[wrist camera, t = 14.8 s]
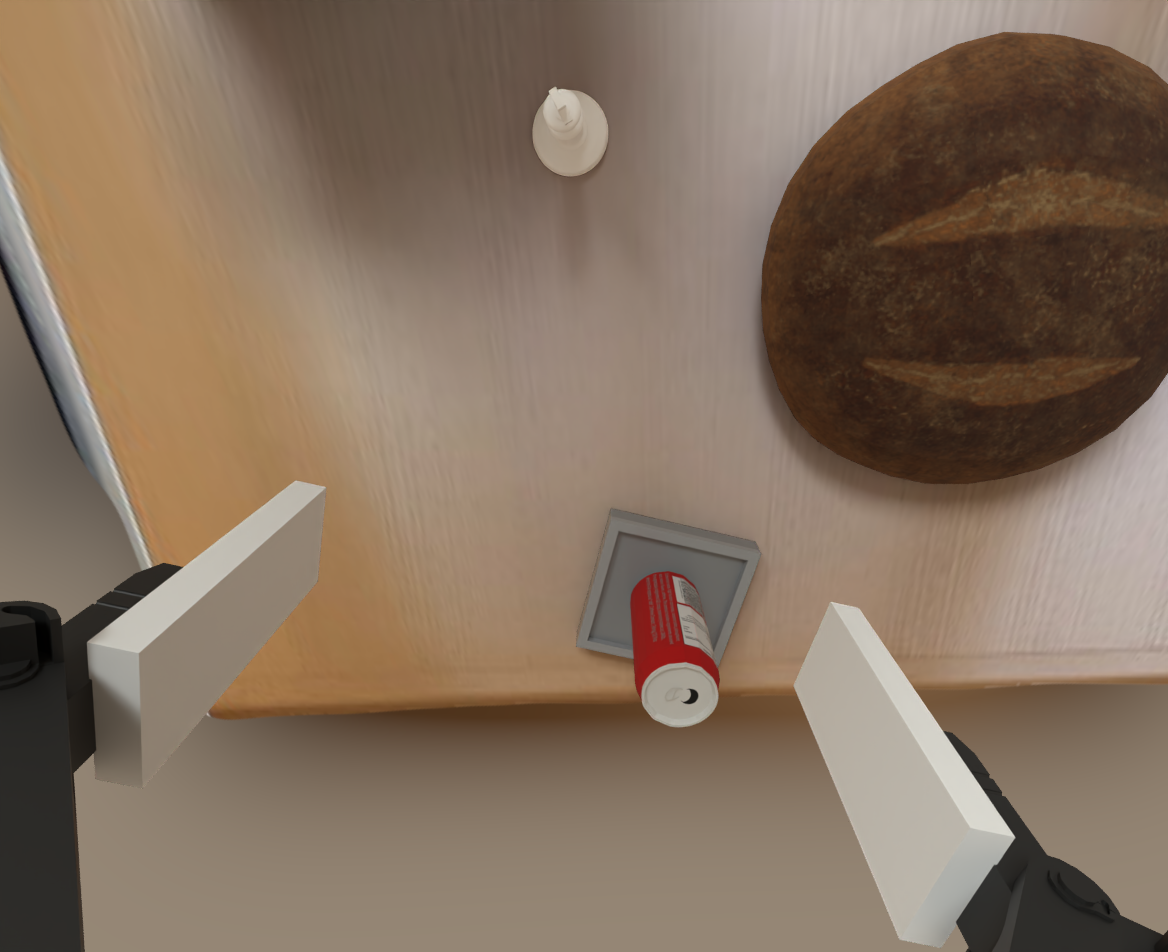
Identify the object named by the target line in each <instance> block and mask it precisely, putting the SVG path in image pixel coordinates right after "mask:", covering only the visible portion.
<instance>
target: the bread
mask: <svg viewBox="0 0 1168 952" xmlns="http://www.w3.org/2000/svg"><path fill="white" fill-rule="evenodd" d="M761 302H762V319H763V332H764V337H765V342H766V347H767V352H768V357H769V361H770V364H771V367H772V370H773V373H774V376H775V379H776V381H777V384H778V387H779V390H780V392H781V394H782V395H783V397H784V399H785V401H786V403H787V404H788V406H789V408H790V410H791V412H792V414H793V415H794V417H795V418H796V419H797V421H798V422H799V423H800V424H801V425H802V426H803V427H804V428H805V429H806V430H807V431H808V433H809V434H810V435H811V436H812V437H813V438H815V439H816V440H817V441H818V442H820V443H821V444H823V445H824V446H826V447H827V448H829V449H830V450H832V451H833V452H835V453H836V454H838V455H840V456H842V457H844V458H847V459H849V460H851V461H854V462H856V463H859V464H861V465H863V466H865V467H868V468H871V469H873V470H876V471H879V472H882V473H884V474H887V475H890V476H893V477H898V478H903V479H907V480H912V481H917V482H921V483H930V484H969V483H975V482H982V481H988V480H995V479H1001V478H1006V477H1010V476H1014V475H1018V474H1021V473H1025V472H1029V471H1033V470H1037V469H1040V468H1043V467H1045V466H1047V465H1050V464H1052V463H1054V462H1057V461H1059V460H1062V459H1064V458H1066V457H1069V456H1071V455H1074V454H1076V453H1078V452H1079V451H1081V450H1083V449H1084V448H1086V447H1088V446H1089V445H1091V444H1093V443H1094V442H1096V441H1098V440H1099V439H1101V438H1103V437H1104V436H1106V435H1108V434H1109V433H1111V432H1113V431H1114V430H1116V429H1117V428H1118V427H1119V426H1120V425H1121V424H1122V423H1123V422H1124V421H1125V420H1126V419H1127V418H1128V417H1129V416H1130V415H1132V414H1133V413H1134V412H1135V411H1136V410H1137V409H1138V408H1139V407H1140V406H1142V405H1143V404H1144V403H1145V402H1146V401H1147V400H1148V399H1149V398H1150V397H1151V396H1152V395H1153V393H1154V392H1155V390H1156V389H1157V388H1158V386H1159V385H1160V383H1161V382H1162V381H1163V379H1164V378H1165V376H1166V375H1167V373H1168V84H1167V83H1166V82H1165V81H1164V80H1163V79H1161V78H1160V77H1159V76H1158V75H1157V74H1156V73H1155V72H1154V71H1153V70H1152V69H1151V68H1150V67H1148V66H1146V65H1144V64H1142V63H1140V62H1138V61H1136V60H1134V59H1132V58H1130V57H1128V56H1126V55H1124V54H1122V53H1120V52H1118V51H1116V50H1115V49H1113V48H1111V47H1108V46H1104V45H1100V44H1095V43H1091V42H1087V41H1083V40H1079V39H1075V38H1071V37H1067V36H1061V35H1054V34H1037V33H1015V32H1002V33H999V34H995V35H991V36H987V37H984V38H980V39H976V40H972V41H968V42H965V43H961V44H957V45H955V46H953V47H951V48H949V49H947V50H945V51H943V52H941V53H939V54H937V55H935V56H933V57H931V58H929V59H927V60H925V61H923V62H921V63H919V64H917V65H915V66H914V67H912V68H911V69H909V70H907V71H906V72H904V73H902V74H901V75H899V76H898V77H896V78H894V79H893V80H891V81H889V82H888V83H886V84H884V85H883V86H881V87H880V88H879V89H877V90H876V91H874V92H873V93H872V94H870V95H869V96H868V97H866V98H865V99H863V100H862V101H861V102H859V103H858V104H857V105H855V106H854V107H852V108H851V109H850V110H848V111H847V112H846V113H845V114H844V115H843V116H842V117H841V118H840V119H839V120H838V121H837V122H836V123H835V124H834V125H833V126H832V127H831V128H830V129H829V130H828V131H827V132H826V133H825V134H824V135H823V136H822V137H821V138H820V139H819V140H818V141H817V143H816V144H815V145H814V146H813V147H812V149H811V150H810V152H809V154H808V155H807V157H806V158H805V160H804V161H803V163H802V164H801V166H800V167H799V169H798V170H797V172H796V173H795V175H794V176H793V178H792V179H791V181H790V182H789V184H788V186H787V189H786V191H785V193H784V196H783V198H782V201H781V203H780V206H779V208H778V210H777V213H776V215H775V218H774V220H773V223H772V225H771V229H770V234H769V238H768V243H767V247H766V252H765V256H764V260H763V268H762V294H761Z"/></svg>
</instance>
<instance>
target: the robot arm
mask: <svg viewBox="0 0 1168 952" xmlns="http://www.w3.org/2000/svg"><path fill="white" fill-rule="evenodd" d="M325 497H326V487H323V486H318V485H314V484H310V483H305V482H301V481H294V482H293V483H292V484H290V485H289V486H288V487H286V488H285V489H284V490H283V491H281V492H280V493H279V494H277V495H276V496H275V497H274V498H272V499H271V500H270V501H268V502H267V503H266V504H265V505H263V506H262V507H261V508H259V509H258V510H257V511H255V512H254V513H253V514H252V515H250V516H249V517H248V518H246V519H245V520H244V521H243V522H241V523H240V524H239V525H237V526H236V527H235V528H234V529H232V530H231V531H230V532H228V533H227V534H226V535H225V536H223V537H222V538H221V539H219V540H218V541H217V542H215V543H214V544H213V545H212V546H210V547H209V548H208V549H206V550H205V551H204V552H203V553H201V554H200V555H199V556H197V557H196V558H195V559H194V560H192V561H191V562H190V563H188V564H187V565H186V566H185V567H180V566H176V565H171V564H166V563H162V564H160V565H157V566H154V567H151V568H149V569H146V570H143V571H141V572H138V573H135V574H134V575H133V576H131V577H130V578H128V579H127V580H126V581H124V582H123V583H121V584H120V585H119V586H117V587H116V588H114V591H113V592H111V591H110V592H109V593H107V594H106V595H104V596H103V597H102V598H100V599H99V600H97V603H96V604H92V605H91V606H89V607H87V608H86V609H85V610H83V611H82V612H80V613H79V614H78V615H76V616H75V617H73V618H72V619H70V620H69V621H68V622H66V623H65V624H63V625H62V626H61V618H60V616H59V614H58V612H57V610H56V609H54V608H52V607H50V606H48V605H46V604H44V603H37V602H30V601H13V602H0V952H85V949H84V935H83V934H84V933H83V917H82V900H81V885H80V868H79V852H78V836H77V819H76V803H75V787H74V774H73V773H74V772H75V771H76V770H77V769H78V768H79V767H80V766H81V765H82V764H83V763H84V762H85V761H86V760H87V759H88V758H89V757H90V756H91V755H92V754H93V753H94V764H95V779H97V780H102V781H107V782H112V783H117V784H122V785H127V786H132V787H137V788H142V789H143V788H144V786H145V785H146V784H147V783H148V782H149V781H150V779H151V778H152V777H153V776H154V775H155V773H156V772H157V771H158V770H159V769H160V768H161V766H162V765H163V764H164V763H165V762H166V760H167V759H168V758H169V757H170V756H171V755H172V753H173V752H174V751H175V750H176V749H177V747H178V746H179V745H180V744H181V743H182V742H183V740H184V739H185V738H186V737H187V736H188V734H189V733H190V732H191V731H192V730H193V728H194V727H195V726H196V725H197V723H198V722H199V721H200V720H201V719H202V718H203V717H204V716H205V714H206V713H207V712H208V711H209V710H210V708H211V707H212V706H213V705H214V704H215V702H216V701H217V700H218V699H219V698H220V697H221V695H222V694H223V693H224V692H225V691H226V689H227V688H228V687H229V686H230V685H231V684H232V682H233V681H234V680H235V679H236V678H237V676H238V675H239V674H240V673H241V672H242V671H243V669H244V668H245V667H246V666H247V665H248V663H249V662H250V661H251V660H252V659H253V658H254V656H255V655H256V654H257V653H258V652H259V650H260V649H261V648H262V647H263V646H264V644H265V643H266V642H267V641H268V640H269V639H270V637H271V636H272V635H273V634H274V633H275V631H276V630H277V629H278V628H279V627H280V626H281V624H282V623H283V622H284V621H285V620H286V618H287V617H288V616H289V615H290V614H291V613H292V611H293V610H294V609H295V608H296V607H297V605H298V604H299V603H300V602H301V601H302V600H303V598H304V597H305V596H306V595H307V594H308V592H309V591H310V590H311V589H312V588H313V586H314V585H315V584H316V583H317V582H318V573H319V562H320V552H321V541H322V530H323V519H324V508H325ZM794 688H795V690H796V693H797V695H798V697H799V700H800V702H801V705H802V707H803V709H804V712H805V714H806V717H807V719H808V722H809V724H810V726H811V729H812V731H813V733H814V736H815V738H816V741H817V743H818V745H819V748H820V750H821V753H822V755H823V757H824V760H825V762H826V765H827V767H828V769H829V772H830V774H831V776H832V779H833V781H834V784H835V786H836V788H837V791H838V793H839V796H840V798H841V800H842V803H843V805H844V808H845V810H846V812H847V815H848V817H849V819H850V822H851V824H852V827H853V829H854V832H855V834H856V836H857V839H858V841H859V843H860V846H861V848H862V851H863V853H864V855H865V858H866V860H867V863H868V865H869V867H870V870H871V872H872V874H873V877H874V879H875V882H876V884H877V887H878V889H879V891H880V894H881V896H882V899H883V901H884V903H885V905H886V908H887V910H888V913H889V915H890V918H891V920H892V923H893V925H894V927H895V930H896V932H897V934H898V937H899V939H900V940H904V941H909V942H914V943H919V944H924V945H929V946H934V947H939V948H941V947H942V946H943V944H944V942H945V941H946V940H947V938H948V937H949V935H950V934H951V932H952V931H953V929H954V928H955V926H956V925H958V927H959V929H960V931H961V933H962V935H963V937H964V939H965V941H966V943H967V945H968V946H969V948H968V949H967V951H966V952H1168V931H1167V932H1166V933H1165V934H1164V935H1162V934H1160V933H1157V932H1155V931H1153V930H1151V929H1149V928H1146V927H1144V926H1142V925H1140V924H1138V923H1136V922H1134V921H1131V920H1129V919H1127V918H1125V917H1123V916H1121V915H1120V913H1119V911H1118V910H1117V908H1116V907H1115V905H1114V904H1113V902H1112V901H1111V899H1110V898H1109V897H1108V895H1107V894H1106V893H1105V892H1103V890H1102V889H1101V888H1100V887H1099V886H1098V885H1097V884H1096V883H1095V882H1094V881H1092V880H1091V879H1090V878H1089V877H1087V876H1086V875H1085V874H1083V873H1082V872H1081V871H1079V870H1078V869H1077V868H1075V867H1073V866H1071V865H1069V864H1067V863H1066V862H1064V861H1062V860H1060V859H1057V858H1054V857H1051V856H1047V854H1046V853H1045V852H1044V850H1043V849H1042V847H1041V846H1040V845H1039V843H1038V842H1037V840H1036V839H1035V837H1034V836H1033V835H1032V833H1031V832H1030V830H1029V829H1028V828H1027V826H1026V825H1025V824H1024V822H1023V821H1022V819H1021V818H1020V816H1019V815H1018V814H1017V812H1016V811H1015V810H1014V808H1013V807H1012V805H1011V804H1010V802H1009V801H1008V800H1007V798H1006V797H1004V796H1002V791H1001V790H1000V789H999V787H998V786H997V785H996V783H995V781H994V780H993V779H990V778H989V775H990V774H989V773H988V772H987V771H986V769H985V767H984V766H983V765H982V763H981V762H980V761H979V759H978V758H977V756H976V755H975V754H974V753H973V752H972V751H971V750H970V749H969V748H968V747H967V746H966V745H965V744H964V743H963V742H961V741H960V740H959V739H958V738H957V737H956V736H955V735H954V734H953V733H950V732H946V731H942V729H941V728H940V726H939V725H938V723H937V722H936V720H935V719H934V718H933V716H932V715H931V713H930V712H929V710H928V709H927V707H926V706H925V704H924V703H923V701H922V700H921V698H920V697H919V696H918V694H917V693H916V691H915V690H914V688H913V687H912V685H911V684H910V682H909V681H908V679H907V678H906V677H905V675H904V674H903V672H902V671H901V669H900V668H899V666H898V665H897V663H896V662H895V660H894V659H893V657H892V656H891V655H890V653H889V652H888V650H887V649H886V647H885V646H884V644H883V643H882V641H881V640H880V638H879V637H878V636H877V634H876V633H875V631H874V630H873V628H872V627H871V625H870V624H869V622H868V621H867V619H866V618H865V616H864V615H863V614H862V612H861V611H860V609H859V608H857V607H852V606H848V605H843V604H839V603H835V602H830V604H829V606H828V609H827V611H826V613H825V615H824V618H823V620H822V622H821V624H820V627H819V629H818V631H817V633H816V636H815V638H814V640H813V643H812V645H811V647H810V649H809V652H808V654H807V656H806V658H805V661H804V663H803V665H802V668H801V670H800V672H799V674H798V677H797V679H796V681H795V683H794Z"/></svg>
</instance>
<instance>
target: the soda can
mask: <svg viewBox="0 0 1168 952" xmlns="http://www.w3.org/2000/svg"><path fill="white" fill-rule="evenodd" d="M630 609H631V625H632V641H633V657H634V672H635V684H636V689H637V692H638V694H639V696H640V698H641V700H642V703H643V707H644V708H645V709H646V711H647V712H648V713H649V714H650V716H651V717H652V718H653V719H654V720H656V721H659V722H661V723H663V724H666V725H668V726H671V727H686V726H691V725H694V724H697V723H700V722H701V721H703V720H704V719H706V718H707V717H708V716H709V715H710V714H711V713H712V712H713V711H714V709H715V707H716V704H717V701H718V688H719V681H720V678H719V671H718V667H717V664H716V660H715V656H714V652H713V648H712V644H711V640H710V636H709V632H708V629H707V625H706V621H705V617H704V613H703V609H702V605H701V601H700V597H699V594H698V591H697V589H696V587H695V585H694V584H693V583H692V582H690V581H689V580H688V579H687V578H686V577H685V576H684V575H681V574H677V573H674V572H670V571H666V572H656V573H653V574H650V575H648V576H646V577H644V578H643V579H641V580H640V581H639V582H638V583H637V585H636V586H635V587H634V589H633V591H632V593H631V599H630Z"/></svg>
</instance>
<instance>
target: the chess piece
mask: <svg viewBox="0 0 1168 952" xmlns="http://www.w3.org/2000/svg"><path fill="white" fill-rule="evenodd" d="M548 92H549V96H548V97H547V98H546V100H545V101H544V102H543V103H542V105H541V106H540V108H539V109H538V111H537V113H536V116H535V119H534V123H533V130H532V137H533V144H534V148H535V150H536V153H537V155H538V157H539V158H540V160H541V161H542V163H543V164H544V165H545V166H546V167H547V168H548V169H550V170H551V171H553V172H555V173H557V174H559V175H563V176H578V175H582V174H584V173H586V172H588V171H590V170H591V169H593V168H594V167H595V166H596V165H597V164H598V163H599V161H600V160H601V158H602V157H603V155H604V153H605V150H606V147H607V143H608V124H607V120H606V117H605V115H604V112H603V111H602V109H601V107H600V106H599V105H598V103H597V102H596V101H595V100H594V99H592V98H591V97H590V96H588V95H587V94H585V93H583V92H580V91H576V90H566V89H558V90H557V88H556V86H555V87H554V88H552V89H551V90H549V91H548Z"/></svg>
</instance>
